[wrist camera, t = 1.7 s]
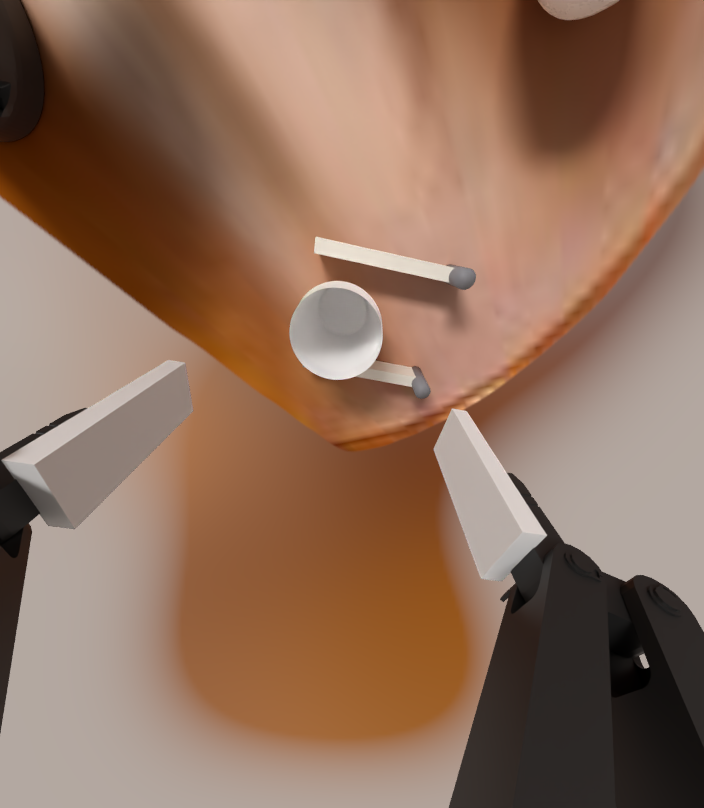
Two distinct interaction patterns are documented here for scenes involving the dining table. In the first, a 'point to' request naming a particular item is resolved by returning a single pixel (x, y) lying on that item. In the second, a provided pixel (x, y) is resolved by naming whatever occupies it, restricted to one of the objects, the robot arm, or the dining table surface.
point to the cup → (336, 330)
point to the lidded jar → (575, 8)
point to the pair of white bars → (447, 274)
